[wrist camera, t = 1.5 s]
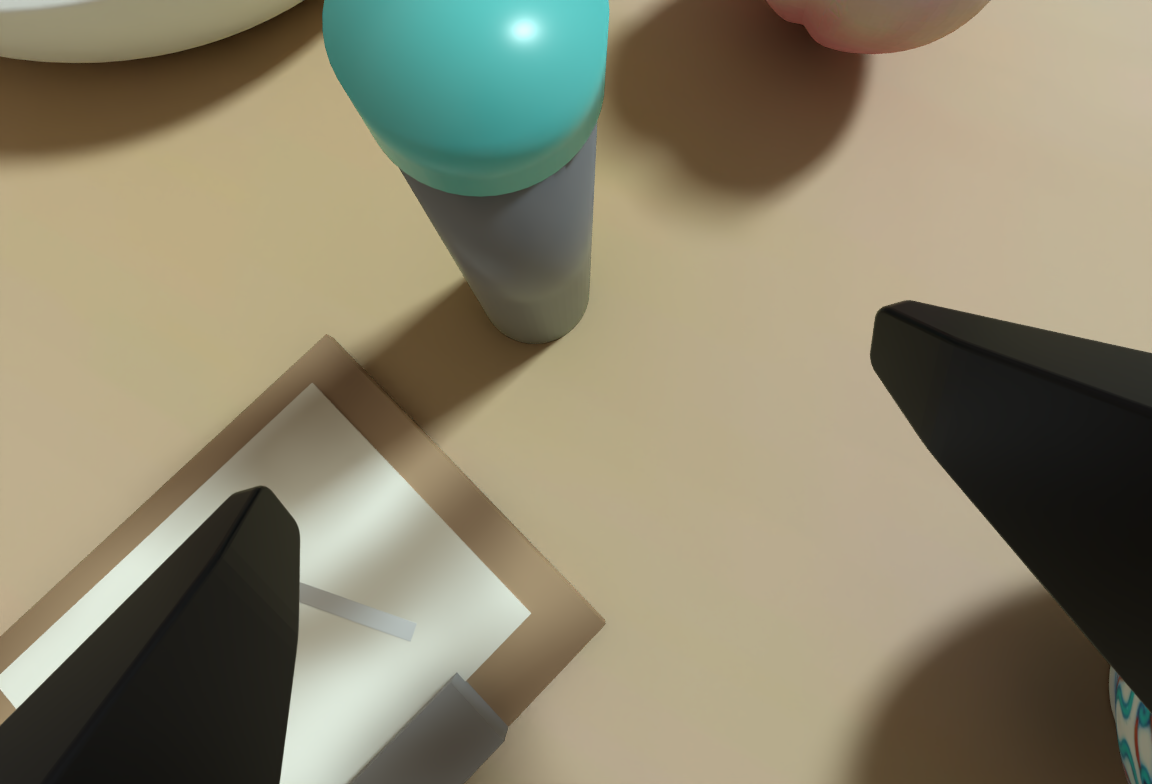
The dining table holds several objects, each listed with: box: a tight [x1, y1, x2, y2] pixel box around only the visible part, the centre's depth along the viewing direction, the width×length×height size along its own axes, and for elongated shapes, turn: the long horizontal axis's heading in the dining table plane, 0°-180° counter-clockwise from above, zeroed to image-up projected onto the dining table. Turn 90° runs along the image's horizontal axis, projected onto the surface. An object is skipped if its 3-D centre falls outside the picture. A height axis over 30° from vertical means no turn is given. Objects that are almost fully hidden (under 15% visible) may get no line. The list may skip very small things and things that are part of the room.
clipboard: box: [0, 334, 605, 784], centre depth 19 cm, size 14×17×2 cm
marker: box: [322, 0, 609, 344], centre depth 15 cm, size 4×4×13 cm
